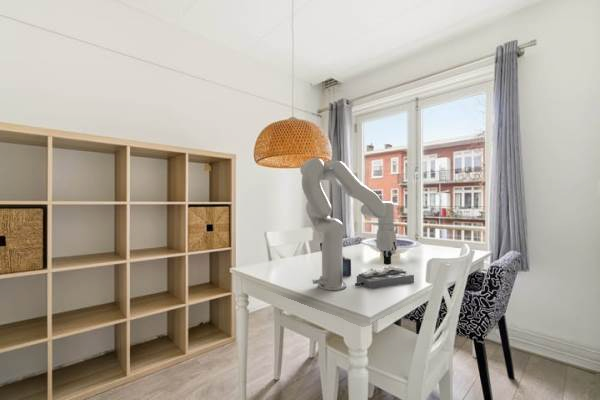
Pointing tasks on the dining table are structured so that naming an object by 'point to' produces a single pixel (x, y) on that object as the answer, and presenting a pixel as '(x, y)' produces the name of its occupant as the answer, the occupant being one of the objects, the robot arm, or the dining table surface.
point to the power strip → (384, 279)
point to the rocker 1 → (369, 272)
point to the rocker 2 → (382, 270)
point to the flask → (346, 266)
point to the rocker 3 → (395, 268)
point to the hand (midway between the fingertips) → (387, 264)
